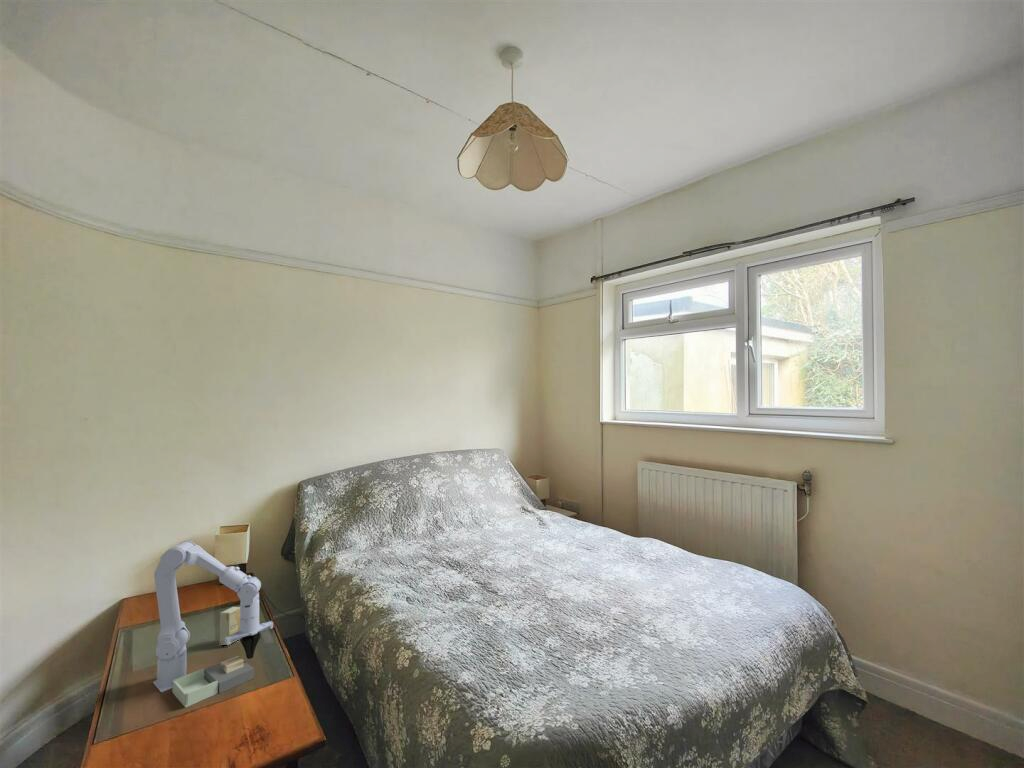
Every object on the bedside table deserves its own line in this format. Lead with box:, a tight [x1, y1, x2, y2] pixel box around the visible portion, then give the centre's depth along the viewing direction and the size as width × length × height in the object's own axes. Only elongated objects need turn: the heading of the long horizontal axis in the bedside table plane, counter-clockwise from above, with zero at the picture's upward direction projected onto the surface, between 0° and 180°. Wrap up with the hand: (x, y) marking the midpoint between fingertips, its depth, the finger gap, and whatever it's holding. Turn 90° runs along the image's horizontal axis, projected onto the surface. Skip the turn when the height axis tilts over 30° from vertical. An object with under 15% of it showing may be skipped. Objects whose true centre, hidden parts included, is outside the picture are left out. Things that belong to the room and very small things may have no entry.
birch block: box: [220, 655, 245, 673], centre depth 148 cm, size 5×5×2 cm
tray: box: [171, 667, 219, 708], centre depth 140 cm, size 13×8×4 cm, turn 51°
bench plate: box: [204, 660, 255, 694], centre depth 148 cm, size 14×10×3 cm
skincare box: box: [219, 606, 240, 645], centre depth 173 cm, size 6×4×12 cm
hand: (249, 657), depth 153 cm, fingers closed
